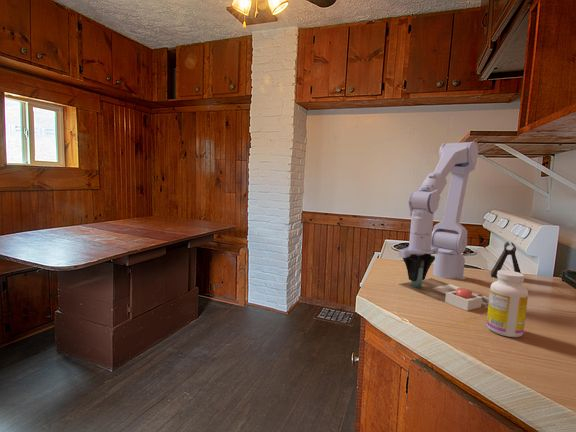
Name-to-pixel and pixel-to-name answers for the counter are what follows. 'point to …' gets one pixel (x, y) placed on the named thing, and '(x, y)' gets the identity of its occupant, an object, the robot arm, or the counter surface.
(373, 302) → the counter surface
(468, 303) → the button housing
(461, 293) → the button
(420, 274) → the marker
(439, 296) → the drawing board
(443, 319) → the counter surface
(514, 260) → the black spring clamp
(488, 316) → the supplement bottle
